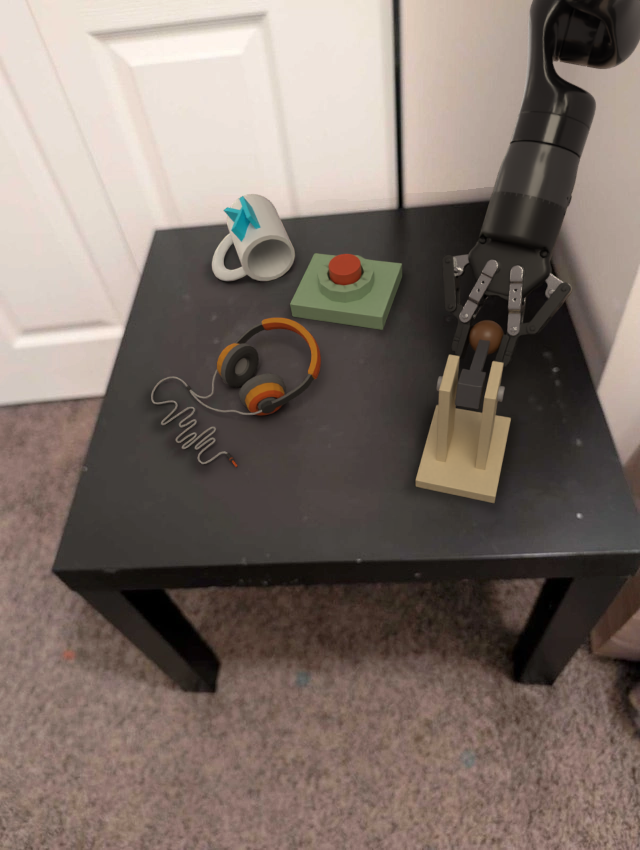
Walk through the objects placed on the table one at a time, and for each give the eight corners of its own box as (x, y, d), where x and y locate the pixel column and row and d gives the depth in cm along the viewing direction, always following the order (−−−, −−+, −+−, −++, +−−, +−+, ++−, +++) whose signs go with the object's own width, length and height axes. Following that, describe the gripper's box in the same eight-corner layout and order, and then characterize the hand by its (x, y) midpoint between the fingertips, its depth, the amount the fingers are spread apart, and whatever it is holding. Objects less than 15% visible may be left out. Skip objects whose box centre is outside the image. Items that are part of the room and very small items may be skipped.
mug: (245, 164, 90) (267, 214, 83) (281, 210, 97) (304, 259, 90) (178, 216, 93) (193, 268, 85) (217, 256, 100) (235, 308, 92)
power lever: (469, 342, 73) (473, 312, 71) (503, 347, 72) (508, 317, 70) (446, 409, 62) (450, 375, 60) (485, 416, 61) (490, 382, 59)
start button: (365, 266, 85) (364, 255, 83) (356, 287, 82) (355, 276, 81) (335, 262, 86) (333, 251, 84) (325, 283, 84) (324, 272, 82)
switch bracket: (436, 411, 74) (439, 330, 64) (509, 424, 72) (525, 342, 62) (415, 486, 69) (415, 411, 59) (494, 503, 67) (508, 427, 56)
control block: (402, 276, 88) (401, 252, 85) (382, 330, 83) (381, 306, 79) (316, 265, 91) (312, 242, 88) (292, 316, 86) (287, 293, 83)
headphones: (129, 384, 78) (262, 279, 80) (152, 406, 83) (278, 306, 84) (195, 481, 69) (344, 361, 71) (217, 499, 74) (356, 386, 75)
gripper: (454, 177, 66) (406, 345, 70) (601, 205, 61) (540, 385, 65) (469, 193, 73) (425, 346, 77) (603, 219, 68) (548, 381, 72)
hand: (478, 363), depth 71 cm, fingers closed on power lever, 3 cm apart
